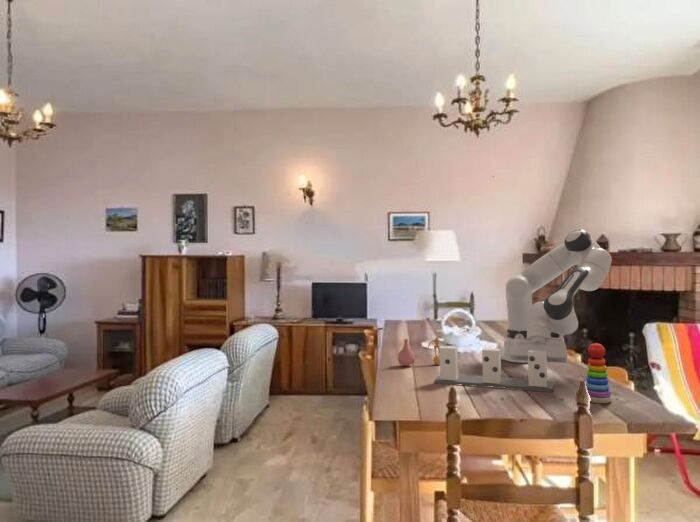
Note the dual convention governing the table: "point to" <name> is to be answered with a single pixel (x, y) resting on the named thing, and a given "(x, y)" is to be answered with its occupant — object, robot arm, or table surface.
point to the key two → (491, 365)
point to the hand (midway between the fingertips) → (537, 369)
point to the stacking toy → (597, 375)
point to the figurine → (436, 358)
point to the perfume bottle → (406, 355)
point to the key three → (537, 368)
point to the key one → (448, 363)
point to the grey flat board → (505, 383)
